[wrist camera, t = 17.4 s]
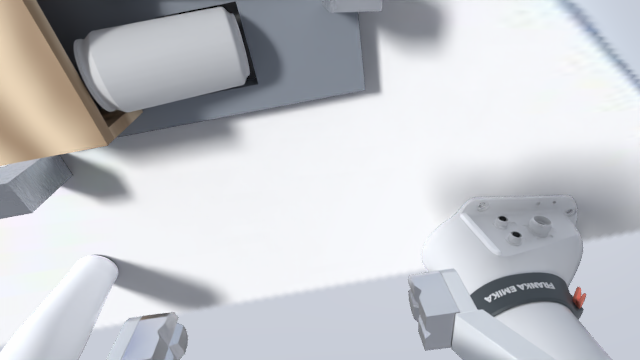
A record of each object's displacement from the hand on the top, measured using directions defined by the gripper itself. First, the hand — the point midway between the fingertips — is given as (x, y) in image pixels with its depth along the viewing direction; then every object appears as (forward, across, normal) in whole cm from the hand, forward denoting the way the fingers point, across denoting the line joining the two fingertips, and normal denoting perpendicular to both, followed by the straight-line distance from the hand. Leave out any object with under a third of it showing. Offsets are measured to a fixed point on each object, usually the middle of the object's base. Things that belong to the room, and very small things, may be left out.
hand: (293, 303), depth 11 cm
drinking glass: (+26, +31, +20) cm, 46 cm away
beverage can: (+23, +4, -5) cm, 24 cm away
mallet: (+26, +29, +4) cm, 39 cm away
